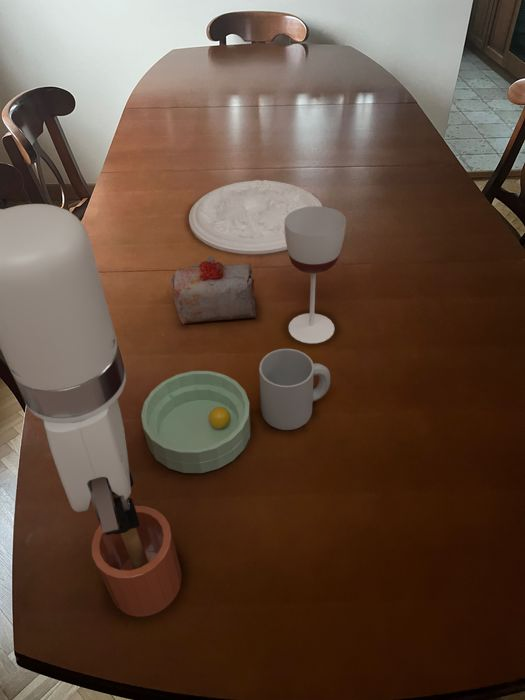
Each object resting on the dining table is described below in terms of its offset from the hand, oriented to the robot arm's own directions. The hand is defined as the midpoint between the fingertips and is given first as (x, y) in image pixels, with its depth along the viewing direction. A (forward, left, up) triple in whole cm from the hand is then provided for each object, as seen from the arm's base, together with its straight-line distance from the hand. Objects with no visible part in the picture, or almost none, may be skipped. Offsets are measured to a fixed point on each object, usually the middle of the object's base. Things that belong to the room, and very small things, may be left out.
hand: (119, 506), depth 56 cm
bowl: (+10, +19, -15) cm, 26 cm away
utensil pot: (0, 0, -15) cm, 15 cm away
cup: (+24, +19, -15) cm, 34 cm away
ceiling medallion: (+33, +72, -15) cm, 81 cm away
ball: (+13, +19, -13) cm, 26 cm away
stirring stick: (0, 0, -15) cm, 15 cm away
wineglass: (+32, +35, -15) cm, 50 cm away
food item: (+18, +44, -15) cm, 50 cm away
